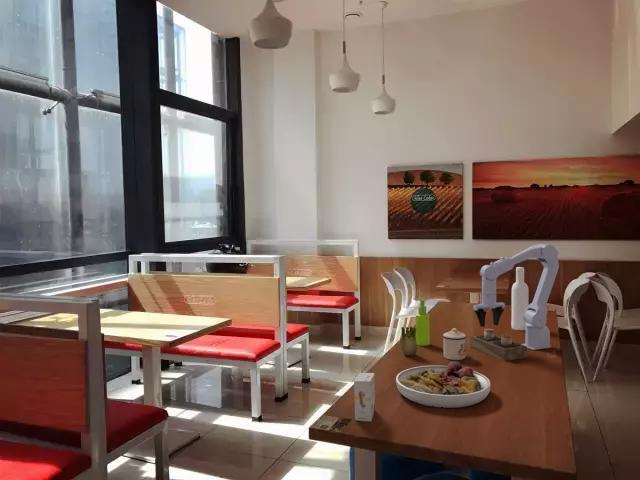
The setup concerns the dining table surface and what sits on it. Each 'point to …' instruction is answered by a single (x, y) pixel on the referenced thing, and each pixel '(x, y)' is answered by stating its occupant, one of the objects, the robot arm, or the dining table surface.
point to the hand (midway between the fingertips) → (489, 325)
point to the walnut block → (498, 348)
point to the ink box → (364, 396)
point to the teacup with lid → (454, 345)
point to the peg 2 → (506, 339)
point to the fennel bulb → (409, 341)
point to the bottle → (519, 300)
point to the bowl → (443, 385)
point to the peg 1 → (488, 333)
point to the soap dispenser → (422, 325)
